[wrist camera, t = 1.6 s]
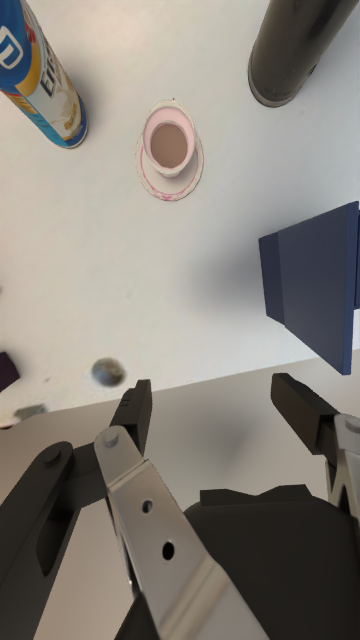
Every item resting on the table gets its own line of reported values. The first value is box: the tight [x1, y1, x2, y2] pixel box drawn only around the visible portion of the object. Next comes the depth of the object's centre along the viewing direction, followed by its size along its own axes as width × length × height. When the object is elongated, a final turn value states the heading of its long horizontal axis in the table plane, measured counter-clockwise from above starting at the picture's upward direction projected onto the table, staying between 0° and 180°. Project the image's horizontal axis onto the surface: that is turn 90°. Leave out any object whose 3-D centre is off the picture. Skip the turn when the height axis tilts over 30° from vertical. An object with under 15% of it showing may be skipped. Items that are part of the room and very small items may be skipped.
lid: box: [278, 201, 359, 375], centre depth 23 cm, size 14×17×1 cm
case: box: [258, 210, 360, 325], centre depth 33 cm, size 14×17×7 cm
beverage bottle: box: [0, 0, 88, 148], centre depth 19 cm, size 8×8×20 cm
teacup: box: [135, 98, 203, 201], centre depth 28 cm, size 12×12×6 cm
